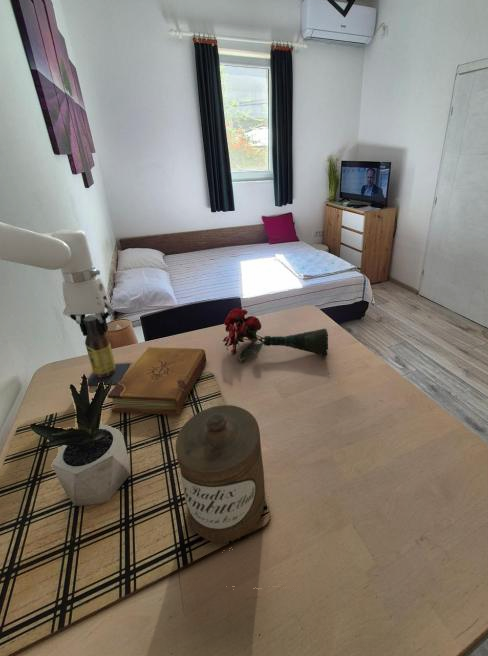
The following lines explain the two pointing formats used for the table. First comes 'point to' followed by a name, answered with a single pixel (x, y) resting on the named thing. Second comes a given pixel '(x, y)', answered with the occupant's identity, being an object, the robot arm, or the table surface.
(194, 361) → the diary
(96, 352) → the sauce bottle
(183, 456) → the wooden container
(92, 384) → the mat
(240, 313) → the carnation
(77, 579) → the table surface
